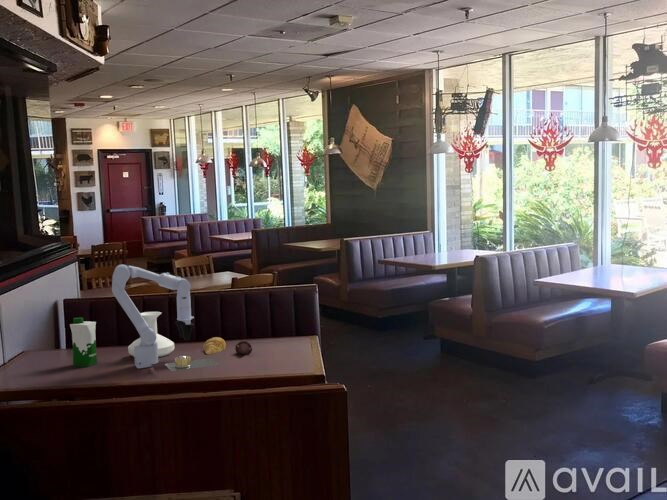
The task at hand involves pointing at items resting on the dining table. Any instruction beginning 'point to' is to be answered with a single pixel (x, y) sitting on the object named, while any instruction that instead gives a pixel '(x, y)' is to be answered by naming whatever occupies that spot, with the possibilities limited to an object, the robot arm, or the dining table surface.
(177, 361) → the ring
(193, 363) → the block
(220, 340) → the croissant
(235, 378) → the dining table surface
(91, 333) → the milk carton
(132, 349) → the candle holder
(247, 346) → the icecream
